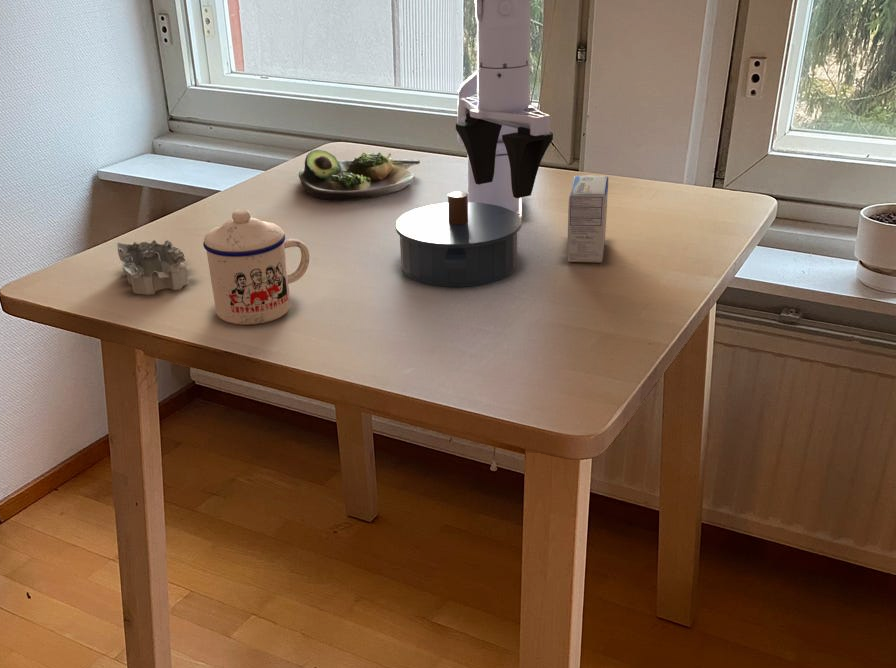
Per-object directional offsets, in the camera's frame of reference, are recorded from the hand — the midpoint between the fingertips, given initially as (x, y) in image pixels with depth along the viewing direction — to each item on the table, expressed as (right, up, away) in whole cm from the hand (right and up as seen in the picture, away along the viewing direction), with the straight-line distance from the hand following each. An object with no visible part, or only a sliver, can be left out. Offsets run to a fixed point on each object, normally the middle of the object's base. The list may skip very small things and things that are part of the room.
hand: (502, 189), depth 117 cm
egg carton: (-43, -9, +9) cm, 45 cm away
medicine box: (+12, -5, +11) cm, 17 cm away
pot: (-5, -7, +9) cm, 12 cm away
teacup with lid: (-28, -14, 0) cm, 31 cm away
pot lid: (-5, -3, +6) cm, 8 cm away
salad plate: (-20, +12, +39) cm, 45 cm away
